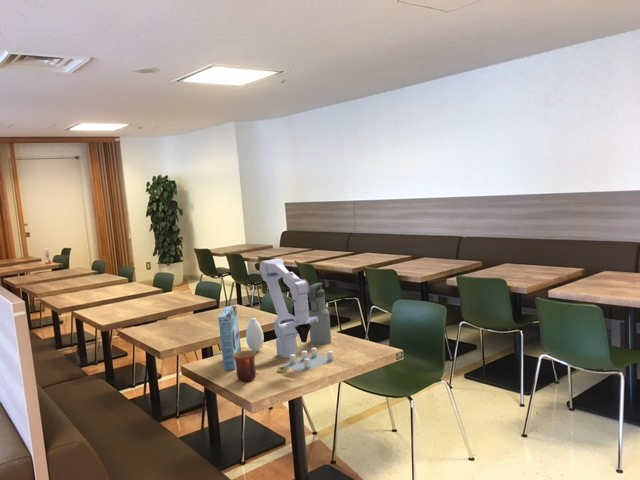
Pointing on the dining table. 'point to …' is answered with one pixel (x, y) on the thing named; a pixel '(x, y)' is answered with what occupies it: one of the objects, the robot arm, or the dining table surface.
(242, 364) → the mug
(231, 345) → the blue cereal box
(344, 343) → the dining table surface
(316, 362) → the plate
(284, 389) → the dining table surface
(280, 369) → the nut
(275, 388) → the dining table surface
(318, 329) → the water bottle
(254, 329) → the sauce bottle
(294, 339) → the robot arm
